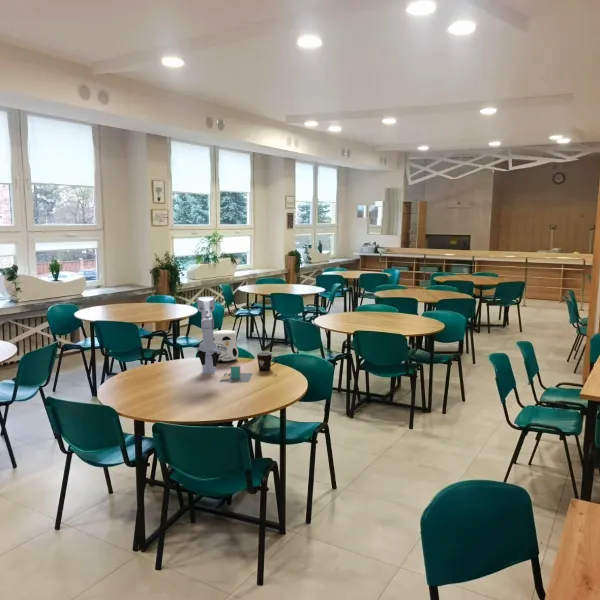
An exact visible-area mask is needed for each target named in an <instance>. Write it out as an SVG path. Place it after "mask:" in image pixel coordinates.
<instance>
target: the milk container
mask: <svg viewBox="0 0 600 600" xmlns="http://www.w3.org/2000/svg"><path fill="white" fill-rule="evenodd" d="M213 337H214V342H215V343H216V348H217V349H220V350H221V354H220V356H219V358H218V362H217V363H230V362H233V361H236V360H237V359H238V357H239V349H238V345H237V332H236V331H235V330H229V329H226V330H225V329H220V330H216V331H215V330H213Z"/></svg>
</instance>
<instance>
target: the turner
mask: <svg viewBox="0 0 600 600" xmlns="http://www.w3.org/2000/svg"><path fill="white" fill-rule="evenodd" d="M226 373H227V374H226V376H225V377H223V376H222V377H221V379H220V380H221V381H228V380H229V379H230V376H229V375H230V373H231V371H228V372H226Z"/></svg>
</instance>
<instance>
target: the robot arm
mask: <svg viewBox="0 0 600 600" xmlns="http://www.w3.org/2000/svg"><path fill="white" fill-rule="evenodd" d="M196 301H197V303H196V304H197V310H198V312H200V313H201V321H200V322H201V323H200V324H201V325H200V327H201V333H202V341H201V342H200V343H199V345H198V346H199V347H198V346H197V347H196V355H197V357H198V358H199V360H200V363H201V367H202V369H201V370H202V371H201V372H200V374H201V375H202V374H203V375H204V374H205V375H208V374H209V375H214V374H215V373H216V372H217V371H218V369H217V365H218V363H219V362H218V358H219V356H220V354H221V350H220V349H217V348H216V343H215V342H214V337H213V332H214V328H215V322H214V321H215V320H214V316H213V312H214V310H215V309H216V308H215V306H216V300H215V295H214V296H200V297H199V296H198V297H197V298H196Z"/></svg>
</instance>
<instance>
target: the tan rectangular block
mask: <svg viewBox="0 0 600 600" xmlns="http://www.w3.org/2000/svg"><path fill="white" fill-rule="evenodd" d="M230 373H231V379H240V378H241V373H242V372H241V365H230Z"/></svg>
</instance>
